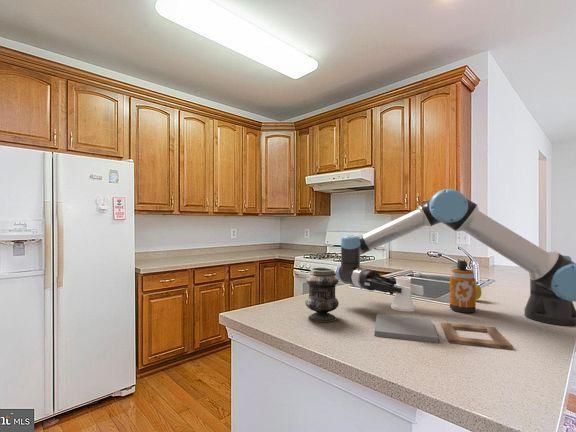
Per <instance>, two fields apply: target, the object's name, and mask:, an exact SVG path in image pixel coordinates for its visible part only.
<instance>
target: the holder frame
mask: <svg viewBox="0 0 576 432" xmlns="http://www.w3.org/2000/svg"><path fill="white" fill-rule="evenodd" d="M440 327H441V329H442V332H443V333H444V335H445V337H446V340H447V342H448V343H449V344H457V345H467V346H476V347H484V348H494V349H504V350H511V351H512V350H514V345H512V343H511V342H510V341H509V340H508V339H506V337H505V336H504V335H503V334H502V333H501V332H500V331H499V330H498V329H497V328H496V327H495V326H483V325H473V324H463V323H452V322H443V321H441V322H440ZM456 330H457V331H458V330H459V331H466V332H467V331H469V332H478V333H479V332H480V333H486V334H488V335H489V337H490V338H491V339H492V340H491V339H482V338H472V337H465V336H464V337H463V336H458V334H457V332H456Z"/></svg>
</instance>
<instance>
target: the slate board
mask: <svg viewBox="0 0 576 432" xmlns="http://www.w3.org/2000/svg"><path fill="white" fill-rule="evenodd" d="M374 325H375V326H374V336H375V337H381V338H393V339H401V340H410V341H419V342H427V343H438V344H439V336H438V334H437V331H436V330H435V329H436V328H435V325H434V324H433V321H432V319H431V318H424V317H412V316H402V315H401V316H400V315H390V314H389V315H388V314H378V313H376V317H375V324H374Z"/></svg>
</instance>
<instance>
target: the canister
mask: <svg viewBox="0 0 576 432" xmlns="http://www.w3.org/2000/svg"><path fill="white" fill-rule="evenodd" d="M467 267H468V262H467V261H466V260H465V259H464V260H460V259H457V263H456V265H454V266H452V267H451V272H450V273H451V274H450V275H451V276H449V308H450V309H451V310H453V311H455V312H458V313H464V314H465V313H466V314H467V313H468V314H471V313H474V312H475V311H477V308H476V305H477V303H476V302H477V300H476V284H477V283H476V280H477V279H476V278H475V272H474V271H473V270H471V269H469V268H467Z"/></svg>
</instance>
